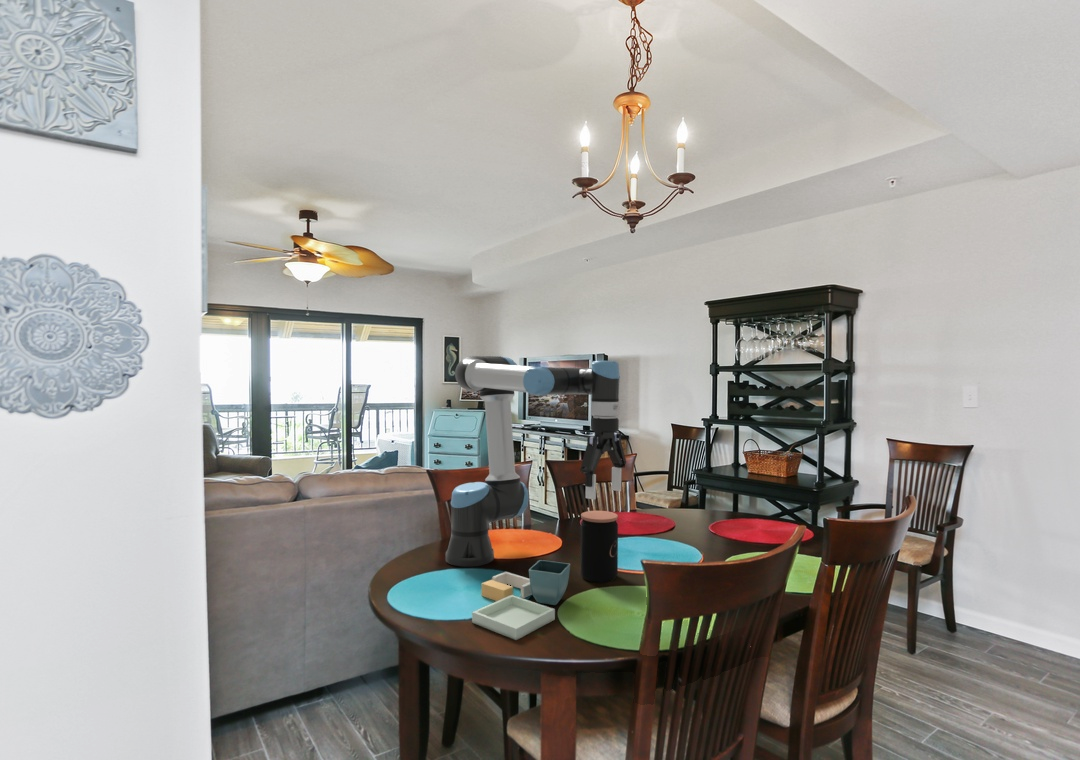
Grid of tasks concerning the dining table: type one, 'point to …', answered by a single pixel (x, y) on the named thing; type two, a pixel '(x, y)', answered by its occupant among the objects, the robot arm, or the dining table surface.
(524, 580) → the clip
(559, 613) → the dining table surface
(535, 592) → the flower pot
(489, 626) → the shallow square tray
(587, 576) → the coffee jar
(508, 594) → the tan rectangular block
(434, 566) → the dining table surface
